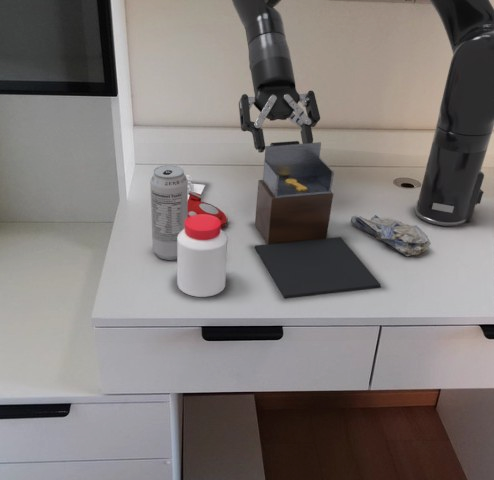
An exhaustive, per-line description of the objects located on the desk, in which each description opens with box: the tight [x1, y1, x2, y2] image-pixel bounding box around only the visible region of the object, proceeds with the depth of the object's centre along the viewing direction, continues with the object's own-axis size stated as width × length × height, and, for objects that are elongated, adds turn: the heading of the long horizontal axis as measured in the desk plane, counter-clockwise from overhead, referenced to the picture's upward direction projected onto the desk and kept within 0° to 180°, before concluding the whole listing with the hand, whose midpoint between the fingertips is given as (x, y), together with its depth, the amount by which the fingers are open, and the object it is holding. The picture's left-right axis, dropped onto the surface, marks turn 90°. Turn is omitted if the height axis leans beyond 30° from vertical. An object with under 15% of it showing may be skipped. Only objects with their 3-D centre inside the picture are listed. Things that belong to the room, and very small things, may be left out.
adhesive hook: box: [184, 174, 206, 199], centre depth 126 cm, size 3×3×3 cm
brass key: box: [285, 179, 308, 191], centre depth 107 cm, size 5×2×1 cm, turn 31°
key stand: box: [254, 179, 334, 244], centre depth 110 cm, size 8×11×9 cm
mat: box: [254, 236, 382, 299], centre depth 103 cm, size 16×16×1 cm
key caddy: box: [262, 140, 335, 198], centre depth 107 cm, size 12×10×6 cm
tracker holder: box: [188, 191, 228, 229], centre depth 115 cm, size 12×4×10 cm
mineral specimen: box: [349, 214, 432, 257], centre depth 110 cm, size 15×8×4 cm, turn 20°
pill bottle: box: [176, 214, 229, 298], centre depth 95 cm, size 8×8×11 cm
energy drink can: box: [149, 164, 188, 261], centre depth 102 cm, size 6×6×15 cm
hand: (285, 149), depth 110 cm, fingers open, 8 cm apart
